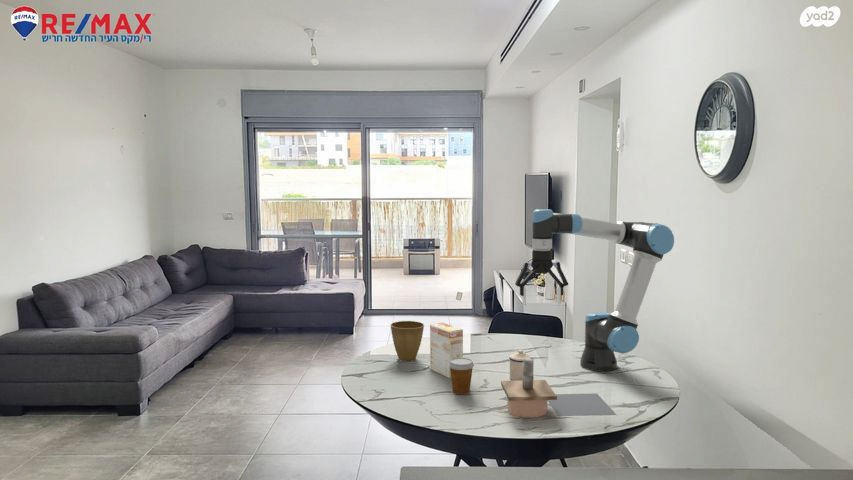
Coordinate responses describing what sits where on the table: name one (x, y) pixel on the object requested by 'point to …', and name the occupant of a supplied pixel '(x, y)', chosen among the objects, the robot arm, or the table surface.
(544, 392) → the lid board
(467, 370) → the disposable coffee cup
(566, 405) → the rubber mat
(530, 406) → the bowl
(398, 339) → the plant pot
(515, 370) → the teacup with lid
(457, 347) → the coffeecake box
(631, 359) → the table surface
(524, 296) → the robot arm
